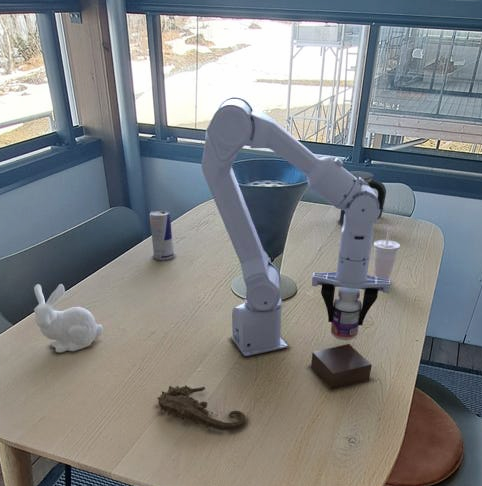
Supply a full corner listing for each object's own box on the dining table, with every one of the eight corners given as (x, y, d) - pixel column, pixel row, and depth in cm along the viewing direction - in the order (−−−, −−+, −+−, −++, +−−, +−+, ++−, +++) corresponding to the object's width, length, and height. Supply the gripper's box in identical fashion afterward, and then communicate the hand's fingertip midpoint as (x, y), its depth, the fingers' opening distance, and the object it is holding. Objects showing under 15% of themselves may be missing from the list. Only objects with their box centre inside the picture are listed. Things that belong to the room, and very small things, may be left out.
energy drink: (177, 255, 146) (174, 211, 139) (165, 262, 142) (160, 217, 135) (162, 251, 148) (158, 208, 141) (150, 257, 145) (145, 213, 138)
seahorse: (211, 447, 82) (210, 432, 80) (146, 404, 91) (144, 389, 89) (251, 421, 88) (251, 406, 86) (186, 383, 97) (185, 368, 95)
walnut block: (331, 389, 95) (333, 373, 93) (310, 367, 101) (312, 351, 99) (369, 380, 98) (371, 364, 96) (347, 359, 104) (349, 343, 102)
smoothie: (365, 284, 132) (373, 228, 124) (371, 274, 137) (379, 220, 129) (391, 288, 130) (401, 232, 122) (395, 278, 135) (405, 224, 127)
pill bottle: (329, 327, 109) (334, 283, 103) (355, 328, 109) (361, 284, 103) (331, 340, 104) (336, 295, 99) (358, 341, 104) (365, 296, 98)
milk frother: (337, 226, 167) (342, 177, 158) (339, 211, 180) (344, 165, 171) (382, 229, 166) (390, 179, 157) (381, 214, 178) (388, 167, 169)
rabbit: (45, 358, 103) (30, 302, 96) (40, 336, 109) (25, 283, 102) (108, 345, 107) (98, 291, 100) (98, 325, 114) (88, 272, 106)
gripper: (394, 251, 99) (382, 316, 107) (317, 244, 101) (311, 308, 109) (394, 265, 93) (382, 332, 101) (313, 258, 95) (307, 324, 103)
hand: (345, 321), depth 105 cm, fingers closed on pill bottle, 5 cm apart
